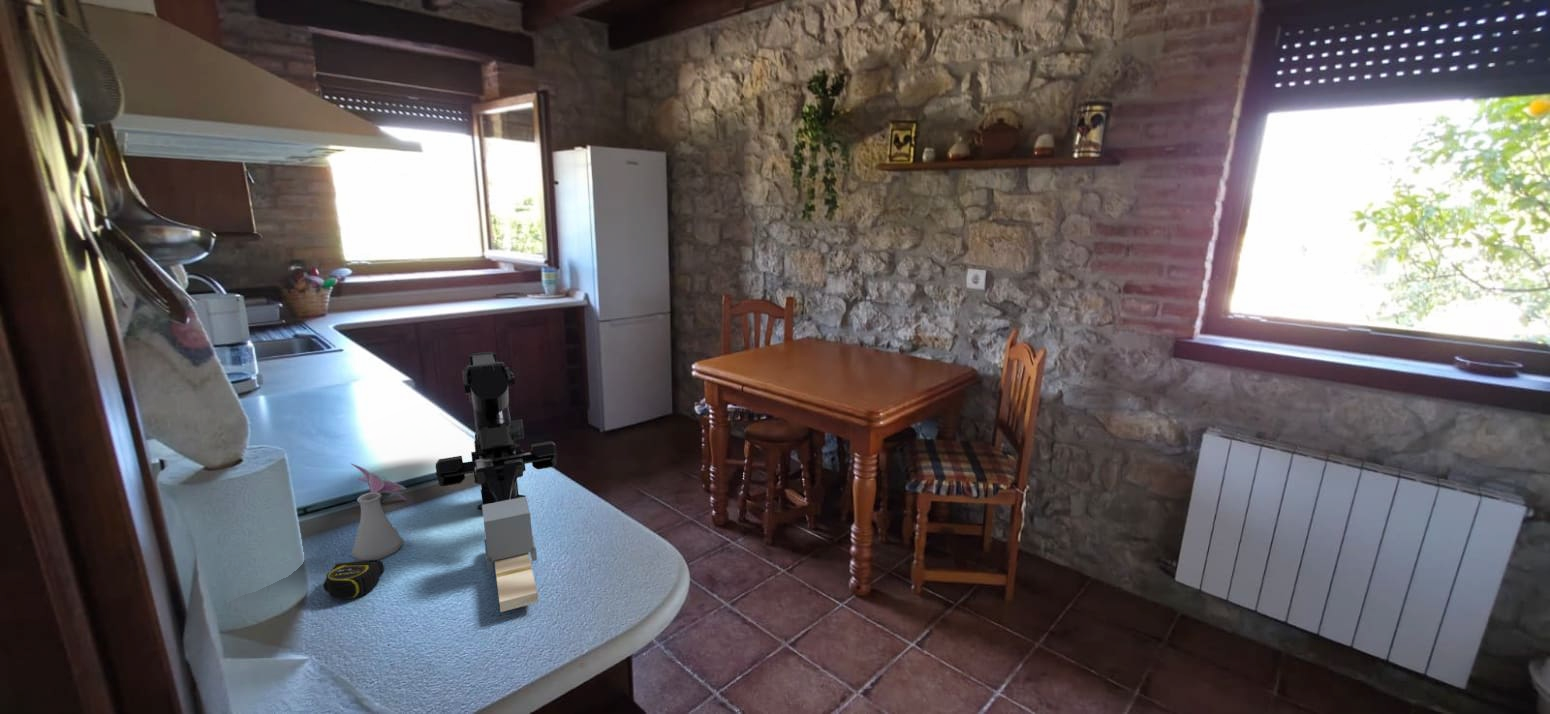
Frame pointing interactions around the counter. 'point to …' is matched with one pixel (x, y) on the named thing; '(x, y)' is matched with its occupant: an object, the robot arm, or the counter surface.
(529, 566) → the beam
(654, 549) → the counter surface
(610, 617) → the counter surface
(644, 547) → the counter surface
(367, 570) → the tape measure
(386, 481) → the lily
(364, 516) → the flask
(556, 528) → the counter surface
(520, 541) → the block
